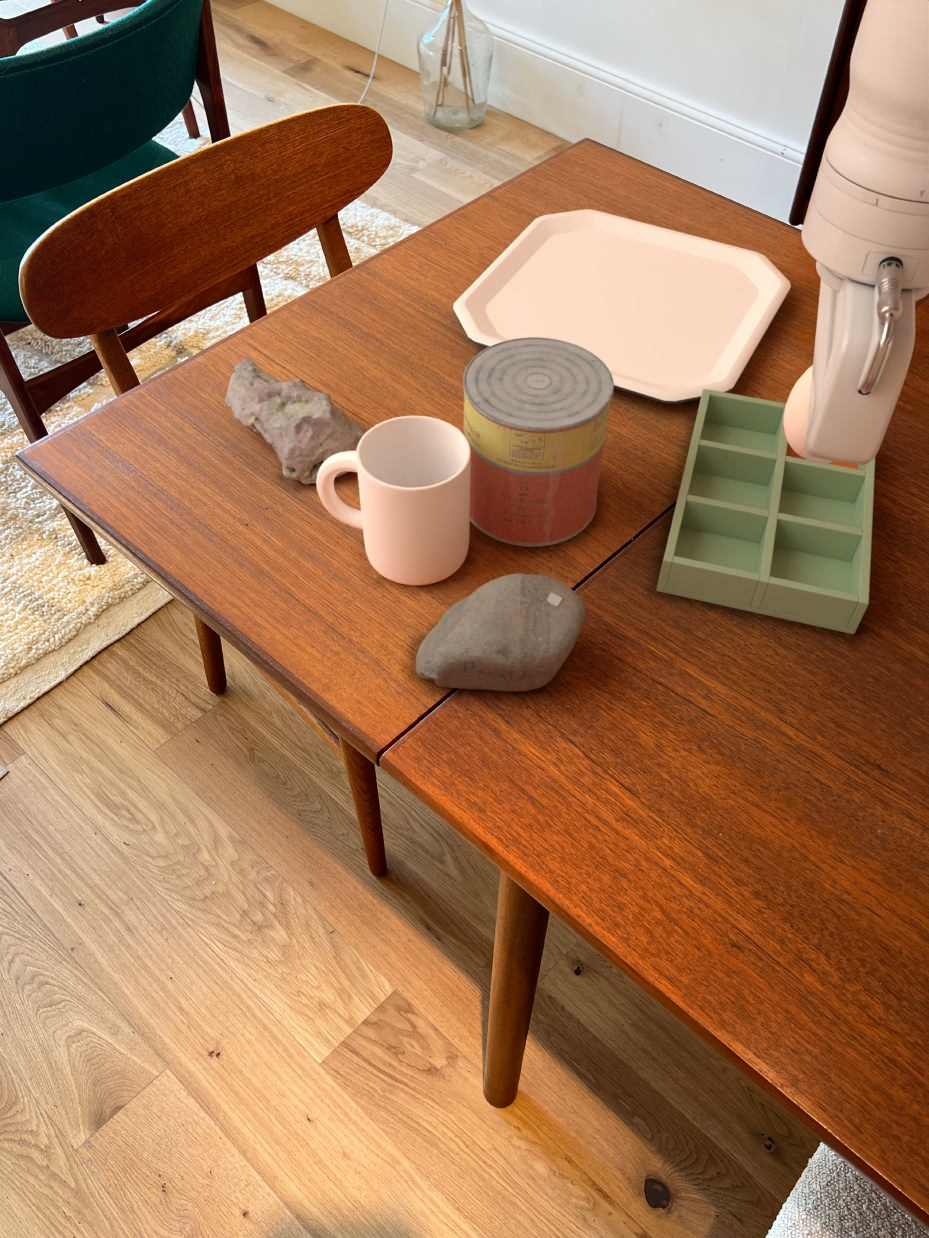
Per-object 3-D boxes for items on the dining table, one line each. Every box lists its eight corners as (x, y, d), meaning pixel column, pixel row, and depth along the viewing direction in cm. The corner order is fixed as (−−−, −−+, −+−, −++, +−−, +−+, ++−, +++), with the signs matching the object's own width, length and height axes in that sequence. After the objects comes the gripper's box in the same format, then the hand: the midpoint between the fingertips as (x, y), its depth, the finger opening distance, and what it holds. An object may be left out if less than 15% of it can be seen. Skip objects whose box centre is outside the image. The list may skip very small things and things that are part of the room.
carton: (864, 451, 88) (877, 419, 85) (854, 634, 74) (869, 603, 72) (695, 419, 91) (703, 388, 88) (655, 591, 77) (663, 559, 74)
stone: (437, 597, 76) (500, 526, 68) (534, 653, 78) (606, 590, 70) (400, 688, 70) (464, 622, 63) (506, 747, 72) (580, 689, 65)
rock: (199, 428, 89) (184, 365, 84) (260, 391, 93) (249, 329, 88) (321, 507, 83) (312, 444, 78) (381, 464, 86) (376, 401, 81)
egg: (797, 484, 63) (831, 388, 57) (759, 440, 66) (787, 343, 60) (860, 468, 64) (899, 372, 58) (819, 425, 67) (853, 329, 61)
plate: (799, 281, 106) (804, 262, 104) (711, 434, 89) (716, 414, 88) (552, 216, 115) (553, 197, 113) (430, 344, 98) (429, 325, 96)
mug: (306, 568, 78) (289, 468, 70) (341, 499, 83) (330, 398, 75) (453, 599, 76) (453, 499, 68) (480, 526, 81) (483, 425, 73)
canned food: (526, 438, 89) (534, 320, 80) (623, 500, 83) (644, 382, 74) (434, 497, 84) (431, 379, 74) (531, 568, 78) (542, 449, 69)
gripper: (964, 334, 46) (868, 547, 56) (950, 143, 58) (874, 345, 69) (823, 312, 47) (755, 525, 57) (839, 129, 59) (781, 330, 70)
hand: (820, 425), depth 63 cm, fingers closed on egg, 4 cm apart
